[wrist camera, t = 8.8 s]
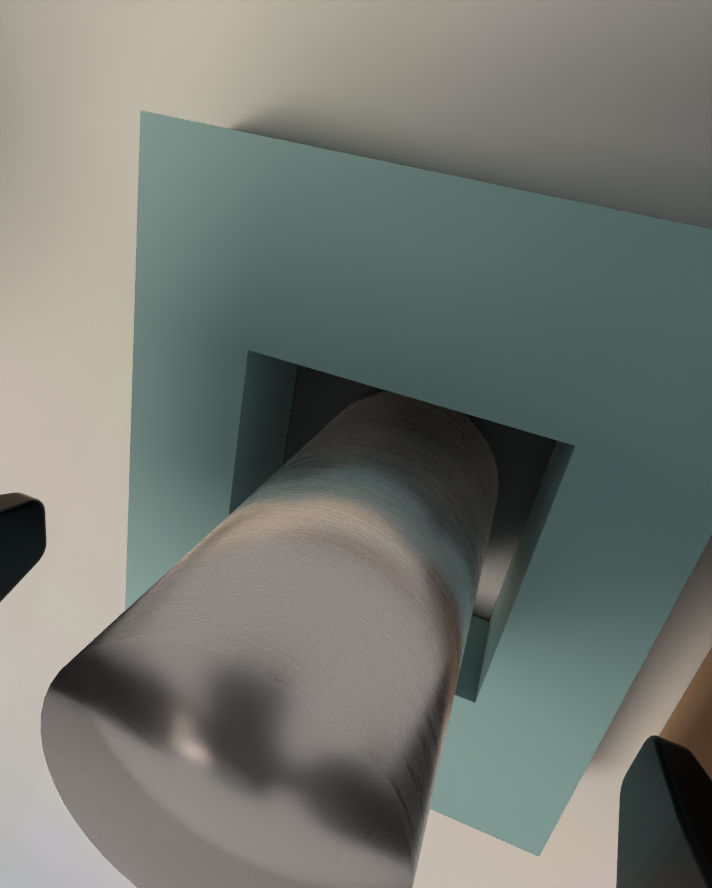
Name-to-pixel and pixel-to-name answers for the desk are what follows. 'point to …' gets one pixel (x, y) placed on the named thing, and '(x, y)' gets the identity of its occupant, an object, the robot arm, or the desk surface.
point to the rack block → (444, 384)
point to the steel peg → (289, 669)
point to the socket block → (695, 717)
